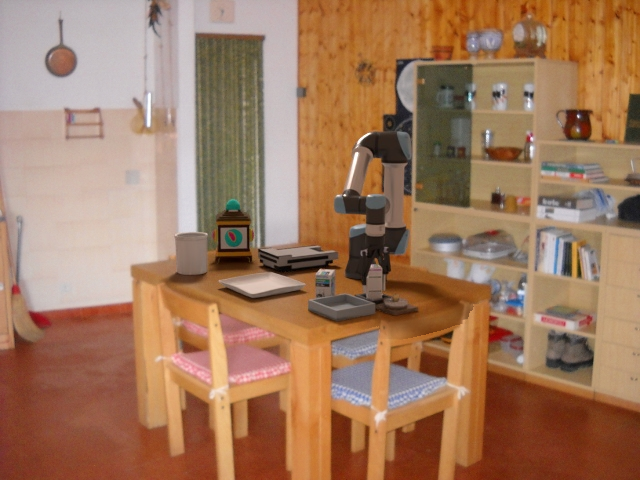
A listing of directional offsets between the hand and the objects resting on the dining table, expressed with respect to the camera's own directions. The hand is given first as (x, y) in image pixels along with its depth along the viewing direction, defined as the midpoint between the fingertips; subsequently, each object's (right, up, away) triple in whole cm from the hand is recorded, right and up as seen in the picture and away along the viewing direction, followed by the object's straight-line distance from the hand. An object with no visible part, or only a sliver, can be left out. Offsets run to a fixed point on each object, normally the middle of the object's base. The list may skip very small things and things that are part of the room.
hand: (374, 291), depth 304 cm
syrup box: (0, -4, +1) cm, 4 cm away
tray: (-13, -7, -13) cm, 20 cm away
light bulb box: (-19, -3, +7) cm, 21 cm away
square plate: (-46, -1, +20) cm, 50 cm away
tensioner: (+4, -5, -5) cm, 8 cm away
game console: (-32, +8, +64) cm, 72 cm away
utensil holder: (-80, +5, +50) cm, 94 cm away
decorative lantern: (-64, +10, +77) cm, 100 cm away
